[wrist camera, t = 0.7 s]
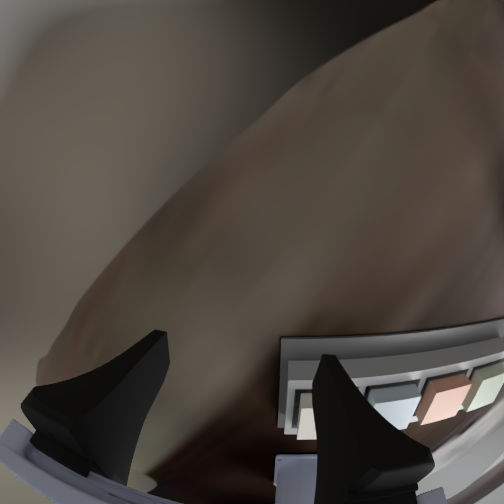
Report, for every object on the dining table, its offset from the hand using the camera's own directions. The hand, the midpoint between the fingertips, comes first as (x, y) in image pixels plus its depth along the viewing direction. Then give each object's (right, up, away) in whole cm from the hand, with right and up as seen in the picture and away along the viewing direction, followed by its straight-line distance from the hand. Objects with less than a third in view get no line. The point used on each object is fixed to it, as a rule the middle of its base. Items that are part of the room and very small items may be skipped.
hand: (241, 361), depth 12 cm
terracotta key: (+19, -8, +8) cm, 22 cm away
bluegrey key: (+13, -8, +9) cm, 18 cm away
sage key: (+25, -8, +8) cm, 27 cm away
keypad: (+16, -8, +10) cm, 21 cm away
